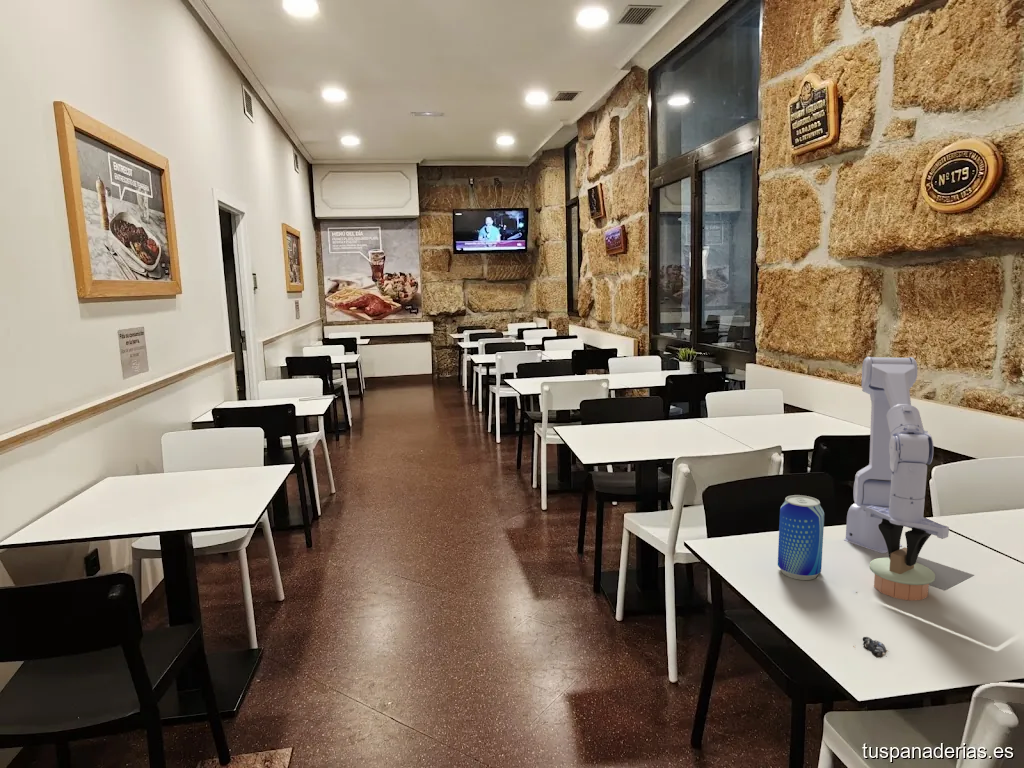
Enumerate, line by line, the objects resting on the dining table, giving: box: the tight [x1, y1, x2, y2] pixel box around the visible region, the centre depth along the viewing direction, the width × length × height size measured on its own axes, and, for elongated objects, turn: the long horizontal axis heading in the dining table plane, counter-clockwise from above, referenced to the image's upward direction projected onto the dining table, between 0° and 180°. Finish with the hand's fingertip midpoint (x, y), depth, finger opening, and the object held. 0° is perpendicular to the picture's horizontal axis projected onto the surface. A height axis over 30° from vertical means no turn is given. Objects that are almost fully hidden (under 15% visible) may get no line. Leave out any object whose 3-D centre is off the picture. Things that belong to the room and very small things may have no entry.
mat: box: [916, 556, 975, 591], centre depth 134 cm, size 12×12×1 cm
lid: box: [869, 546, 935, 585], centre depth 126 cm, size 11×11×4 cm
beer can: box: [777, 494, 825, 581], centre depth 135 cm, size 8×8×16 cm
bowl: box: [873, 574, 930, 601], centre depth 127 cm, size 9×9×4 cm
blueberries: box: [853, 636, 890, 659], centre depth 108 cm, size 7×8×2 cm
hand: (902, 561), depth 126 cm, fingers open, 3 cm apart
